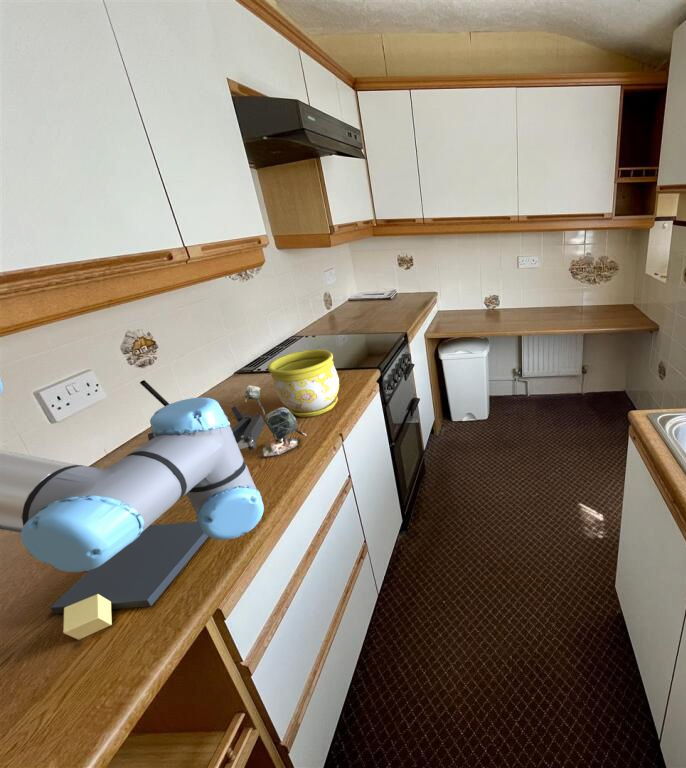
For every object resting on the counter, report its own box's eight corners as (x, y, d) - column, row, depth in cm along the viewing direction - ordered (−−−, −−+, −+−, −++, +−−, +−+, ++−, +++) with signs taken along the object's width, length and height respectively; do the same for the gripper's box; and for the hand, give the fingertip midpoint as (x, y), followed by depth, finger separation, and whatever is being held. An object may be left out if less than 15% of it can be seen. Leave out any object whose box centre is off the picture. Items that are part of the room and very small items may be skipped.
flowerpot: (287, 428, 118) (269, 377, 111) (281, 405, 132) (265, 358, 125) (350, 409, 127) (337, 361, 120) (338, 389, 141) (326, 345, 134)
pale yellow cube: (78, 640, 63) (62, 633, 60) (78, 615, 65) (63, 607, 62) (112, 625, 65) (98, 617, 62) (111, 601, 67) (98, 593, 64)
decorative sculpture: (302, 453, 106) (279, 384, 97) (256, 459, 105) (228, 390, 96) (311, 437, 113) (290, 371, 105) (268, 442, 112) (243, 376, 103)
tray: (53, 613, 67) (49, 607, 67) (139, 531, 84) (136, 526, 83) (151, 606, 68) (147, 600, 67) (217, 525, 84) (214, 520, 83)
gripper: (126, 530, 60) (123, 469, 75) (301, 456, 75) (270, 417, 89) (101, 490, 57) (103, 434, 71) (290, 421, 72) (259, 387, 86)
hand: (196, 425), depth 80 cm, fingers open, 13 cm apart
